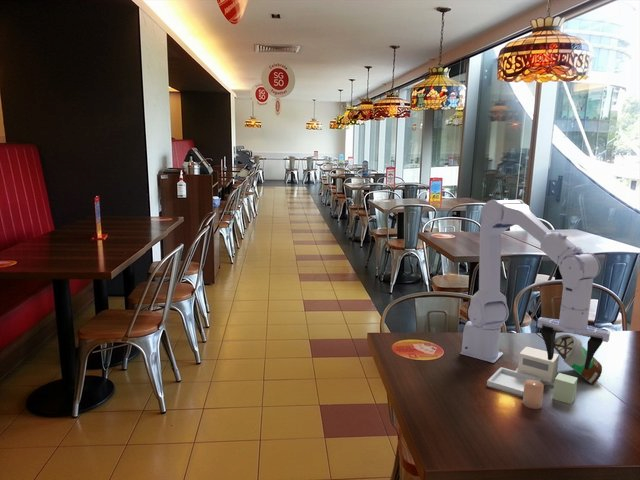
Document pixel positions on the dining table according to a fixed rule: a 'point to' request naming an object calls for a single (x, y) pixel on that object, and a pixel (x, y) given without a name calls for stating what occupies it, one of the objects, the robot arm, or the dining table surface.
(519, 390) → the tray
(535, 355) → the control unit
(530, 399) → the terracotta part
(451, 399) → the dining table surface
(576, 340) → the food container
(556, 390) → the green part
